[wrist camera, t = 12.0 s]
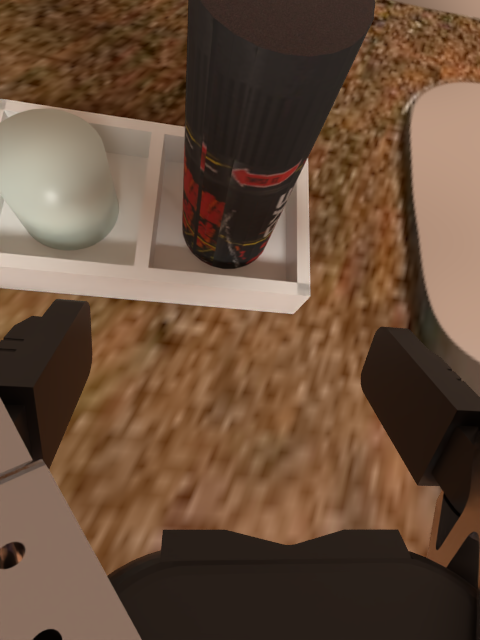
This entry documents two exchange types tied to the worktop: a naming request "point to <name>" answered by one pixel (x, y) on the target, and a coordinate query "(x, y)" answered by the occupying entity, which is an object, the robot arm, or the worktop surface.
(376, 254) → the worktop surface
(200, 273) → the caddy
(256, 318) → the worktop surface
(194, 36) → the deodorant
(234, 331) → the worktop surface
